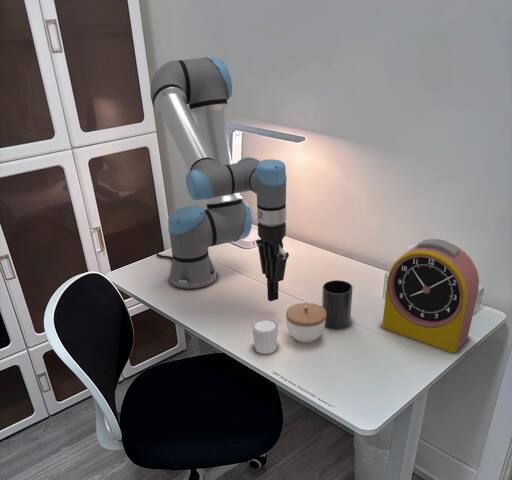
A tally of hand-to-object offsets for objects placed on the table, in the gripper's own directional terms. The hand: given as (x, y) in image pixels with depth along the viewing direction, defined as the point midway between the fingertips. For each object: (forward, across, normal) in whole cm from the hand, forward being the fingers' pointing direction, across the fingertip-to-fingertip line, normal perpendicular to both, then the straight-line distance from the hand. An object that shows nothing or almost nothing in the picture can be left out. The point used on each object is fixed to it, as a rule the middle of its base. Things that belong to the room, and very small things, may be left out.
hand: (273, 299), depth 152 cm
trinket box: (+5, +16, 0) cm, 17 cm away
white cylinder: (+5, +14, -12) cm, 19 cm away
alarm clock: (+4, +32, +28) cm, 43 cm away
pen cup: (+4, +14, +12) cm, 19 cm away
